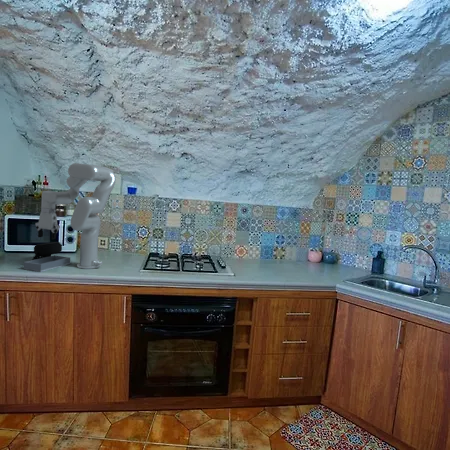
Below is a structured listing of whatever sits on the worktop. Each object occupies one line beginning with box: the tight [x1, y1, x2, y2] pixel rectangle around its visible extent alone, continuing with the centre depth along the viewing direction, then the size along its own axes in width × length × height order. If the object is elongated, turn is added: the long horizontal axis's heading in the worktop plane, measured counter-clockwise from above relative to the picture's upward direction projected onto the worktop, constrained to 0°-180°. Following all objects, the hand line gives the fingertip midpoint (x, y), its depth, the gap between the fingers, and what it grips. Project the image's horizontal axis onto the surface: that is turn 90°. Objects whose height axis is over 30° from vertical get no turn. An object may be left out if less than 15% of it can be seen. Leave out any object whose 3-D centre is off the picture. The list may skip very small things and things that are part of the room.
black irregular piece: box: [32, 241, 63, 260], centre depth 198 cm, size 7×18×10 cm, turn 163°
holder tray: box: [23, 254, 71, 273], centre depth 181 cm, size 11×22×4 cm, turn 166°
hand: (46, 238), depth 198 cm, fingers open, 9 cm apart
